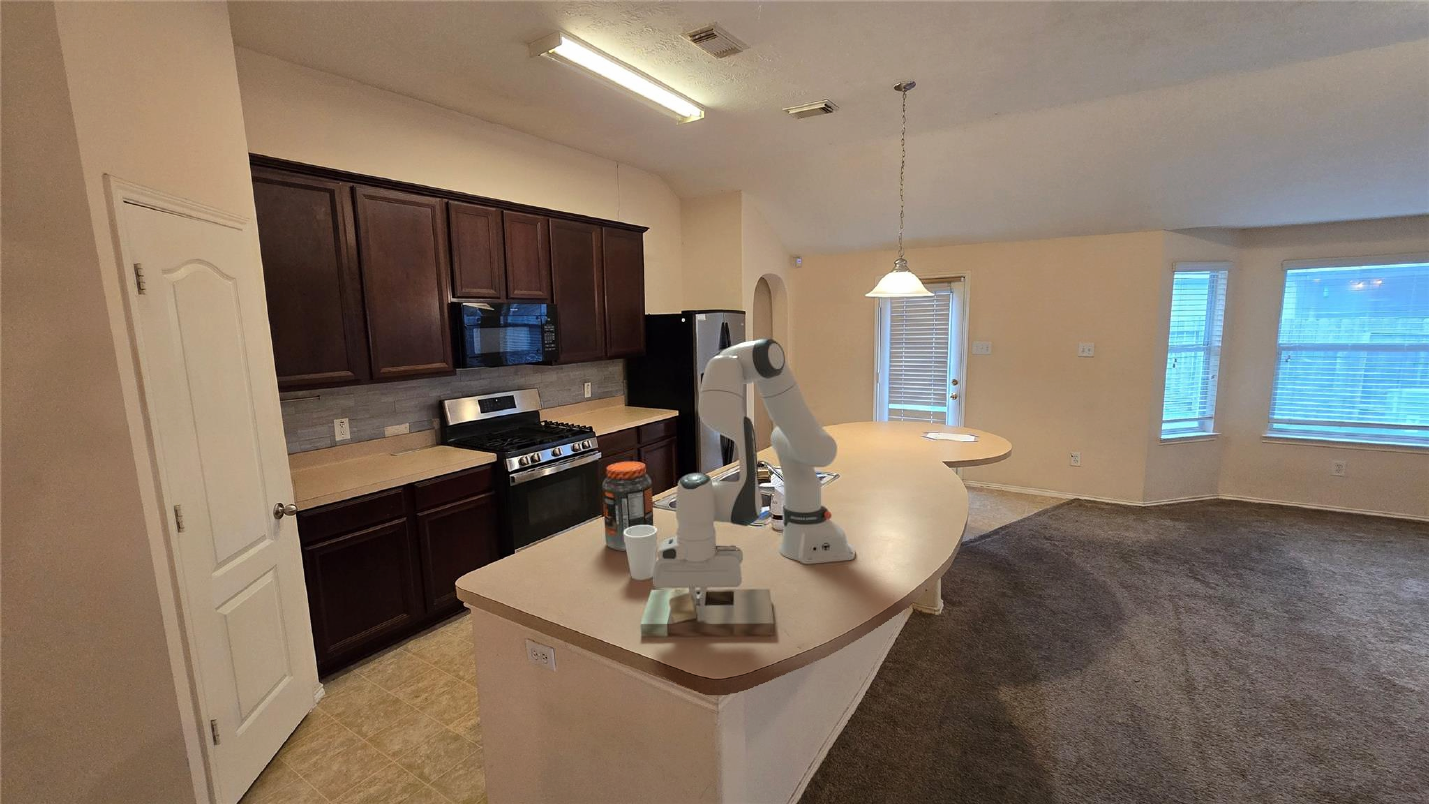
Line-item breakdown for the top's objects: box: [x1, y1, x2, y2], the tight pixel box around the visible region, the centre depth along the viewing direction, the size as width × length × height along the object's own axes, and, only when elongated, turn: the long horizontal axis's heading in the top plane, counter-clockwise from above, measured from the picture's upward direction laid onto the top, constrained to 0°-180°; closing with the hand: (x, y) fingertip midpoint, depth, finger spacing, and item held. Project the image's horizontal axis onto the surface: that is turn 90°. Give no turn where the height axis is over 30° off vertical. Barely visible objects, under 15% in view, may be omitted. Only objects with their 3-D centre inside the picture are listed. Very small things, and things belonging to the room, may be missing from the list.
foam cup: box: [624, 525, 658, 581], centre depth 153 cm, size 10×9×13 cm
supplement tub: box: [601, 461, 654, 552], centre depth 176 cm, size 16×16×26 cm
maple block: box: [669, 588, 697, 623], centre depth 125 cm, size 5×5×5 cm
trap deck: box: [640, 588, 775, 637], centre depth 130 cm, size 30×16×3 cm, turn 88°
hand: (698, 603), depth 125 cm, fingers closed
